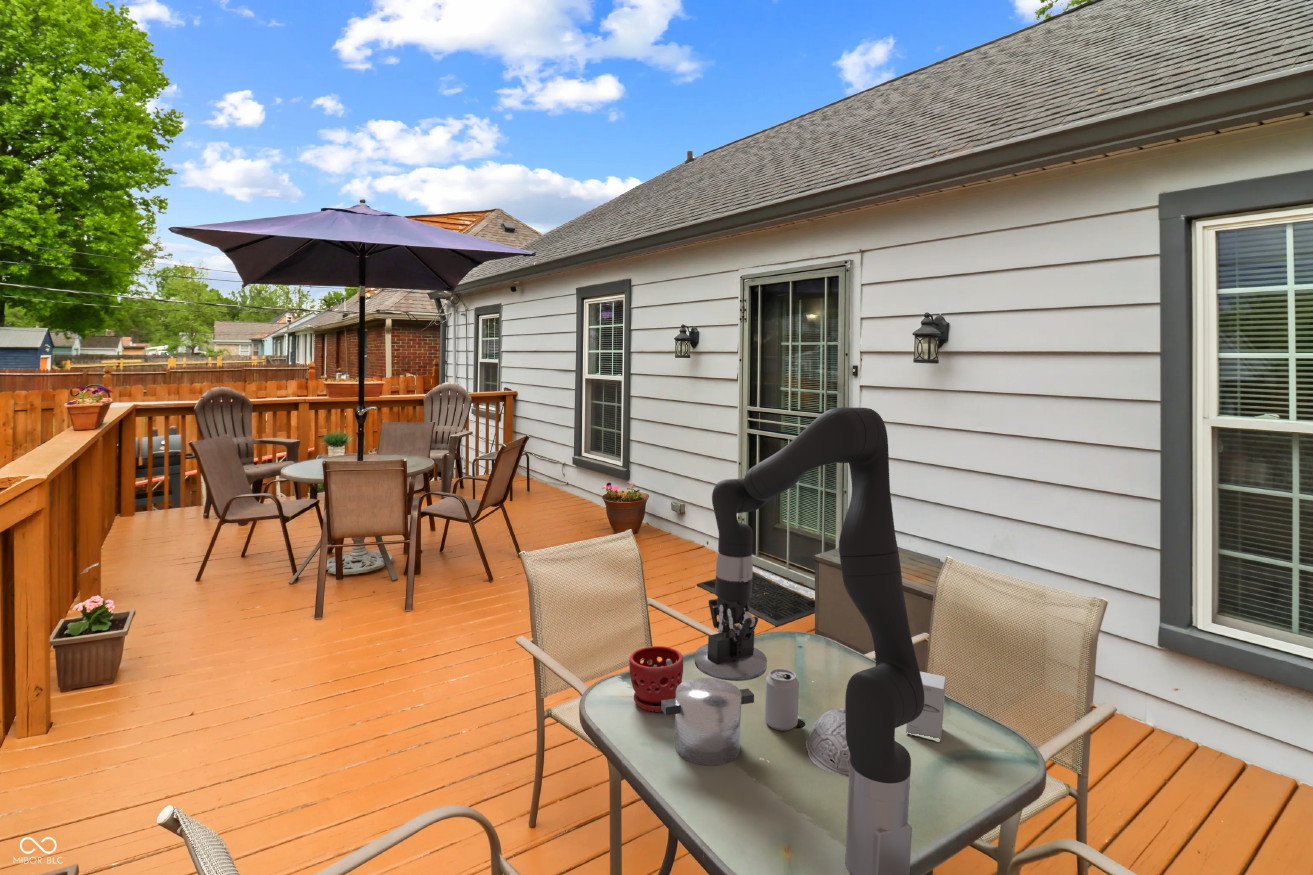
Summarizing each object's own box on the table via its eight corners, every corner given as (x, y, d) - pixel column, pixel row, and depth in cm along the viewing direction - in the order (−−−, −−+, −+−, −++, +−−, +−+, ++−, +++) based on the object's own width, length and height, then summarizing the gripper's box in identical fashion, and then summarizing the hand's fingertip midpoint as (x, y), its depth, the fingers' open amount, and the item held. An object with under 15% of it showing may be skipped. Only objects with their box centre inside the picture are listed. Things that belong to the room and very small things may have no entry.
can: (797, 734, 143) (799, 682, 142) (763, 730, 145) (765, 678, 144) (797, 717, 150) (799, 668, 150) (764, 713, 152) (766, 664, 151)
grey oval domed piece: (801, 767, 130) (806, 735, 130) (809, 714, 154) (813, 687, 154) (881, 790, 126) (886, 758, 125) (876, 732, 150) (881, 704, 149)
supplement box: (905, 735, 144) (908, 680, 143) (909, 720, 150) (911, 668, 149) (940, 744, 140) (944, 688, 139) (943, 728, 147) (946, 675, 146)
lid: (725, 687, 124) (726, 654, 123) (680, 657, 136) (681, 627, 136) (781, 669, 132) (783, 639, 132) (734, 643, 145) (735, 615, 144)
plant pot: (660, 685, 165) (661, 640, 164) (693, 706, 155) (694, 658, 154) (618, 699, 157) (619, 652, 156) (650, 722, 147) (651, 672, 146)
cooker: (764, 756, 134) (766, 701, 133) (673, 772, 128) (674, 715, 127) (736, 722, 147) (737, 672, 146) (652, 735, 141) (653, 683, 140)
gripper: (699, 567, 136) (696, 645, 138) (742, 586, 125) (738, 671, 126) (726, 562, 140) (723, 638, 142) (771, 580, 129) (766, 663, 130)
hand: (730, 653), depth 134 cm, fingers closed on lid, 3 cm apart
